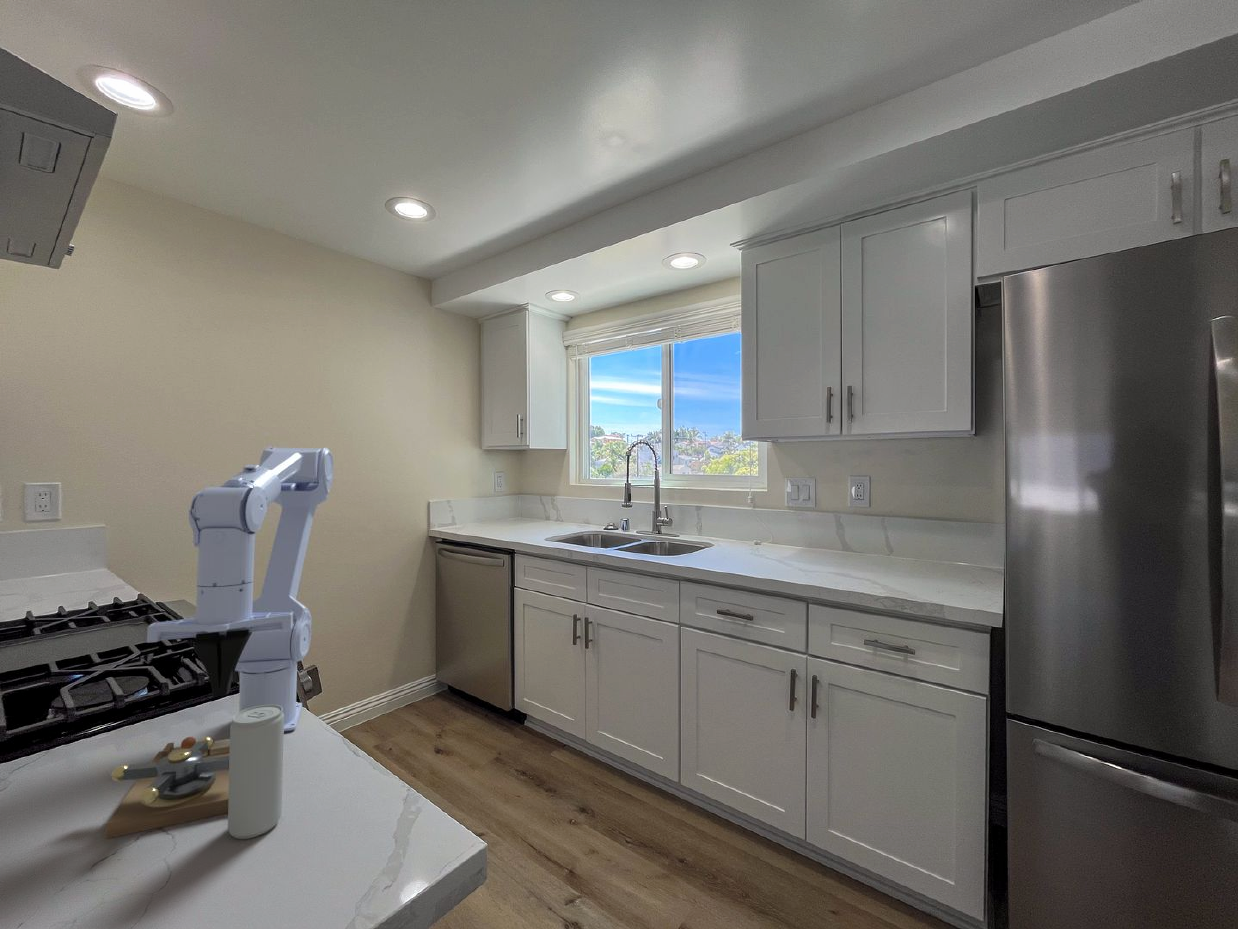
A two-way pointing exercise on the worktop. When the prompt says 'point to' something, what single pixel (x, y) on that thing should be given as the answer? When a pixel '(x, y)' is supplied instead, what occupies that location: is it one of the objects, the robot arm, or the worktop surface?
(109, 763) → the worktop surface
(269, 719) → the beverage can
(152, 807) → the valve wheel board
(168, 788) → the capstan
